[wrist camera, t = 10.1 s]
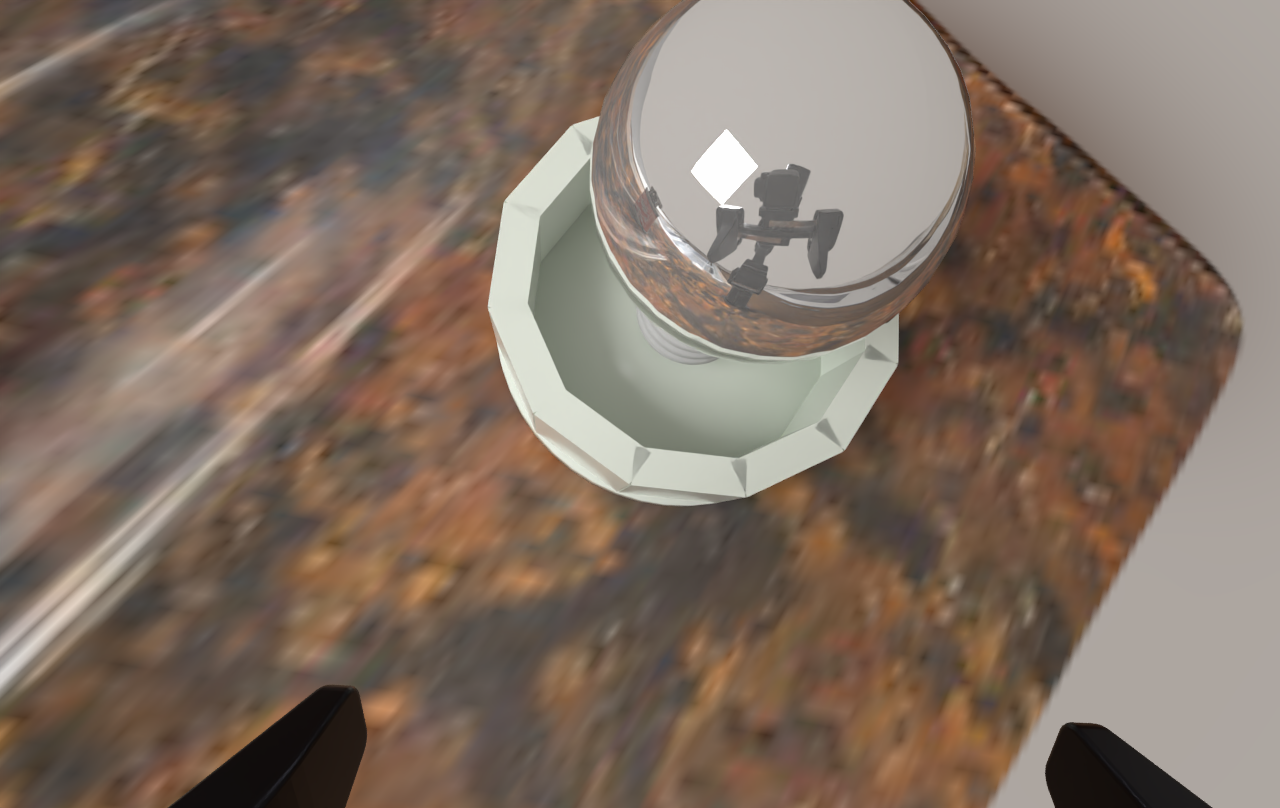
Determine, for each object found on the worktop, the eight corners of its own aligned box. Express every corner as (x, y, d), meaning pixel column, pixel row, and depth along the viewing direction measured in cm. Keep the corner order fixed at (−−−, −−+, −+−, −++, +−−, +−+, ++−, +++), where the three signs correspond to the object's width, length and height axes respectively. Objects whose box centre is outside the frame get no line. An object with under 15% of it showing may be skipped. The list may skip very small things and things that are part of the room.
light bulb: (694, 187, 21) (865, -227, 10) (828, 346, 21) (1176, 107, 9) (528, 303, 20) (496, -31, 8) (668, 478, 19) (847, 387, 8)
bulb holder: (722, 581, 20) (764, 594, 16) (420, 359, 20) (389, 318, 16) (901, 302, 23) (973, 255, 19) (636, 108, 23) (654, 22, 19)
